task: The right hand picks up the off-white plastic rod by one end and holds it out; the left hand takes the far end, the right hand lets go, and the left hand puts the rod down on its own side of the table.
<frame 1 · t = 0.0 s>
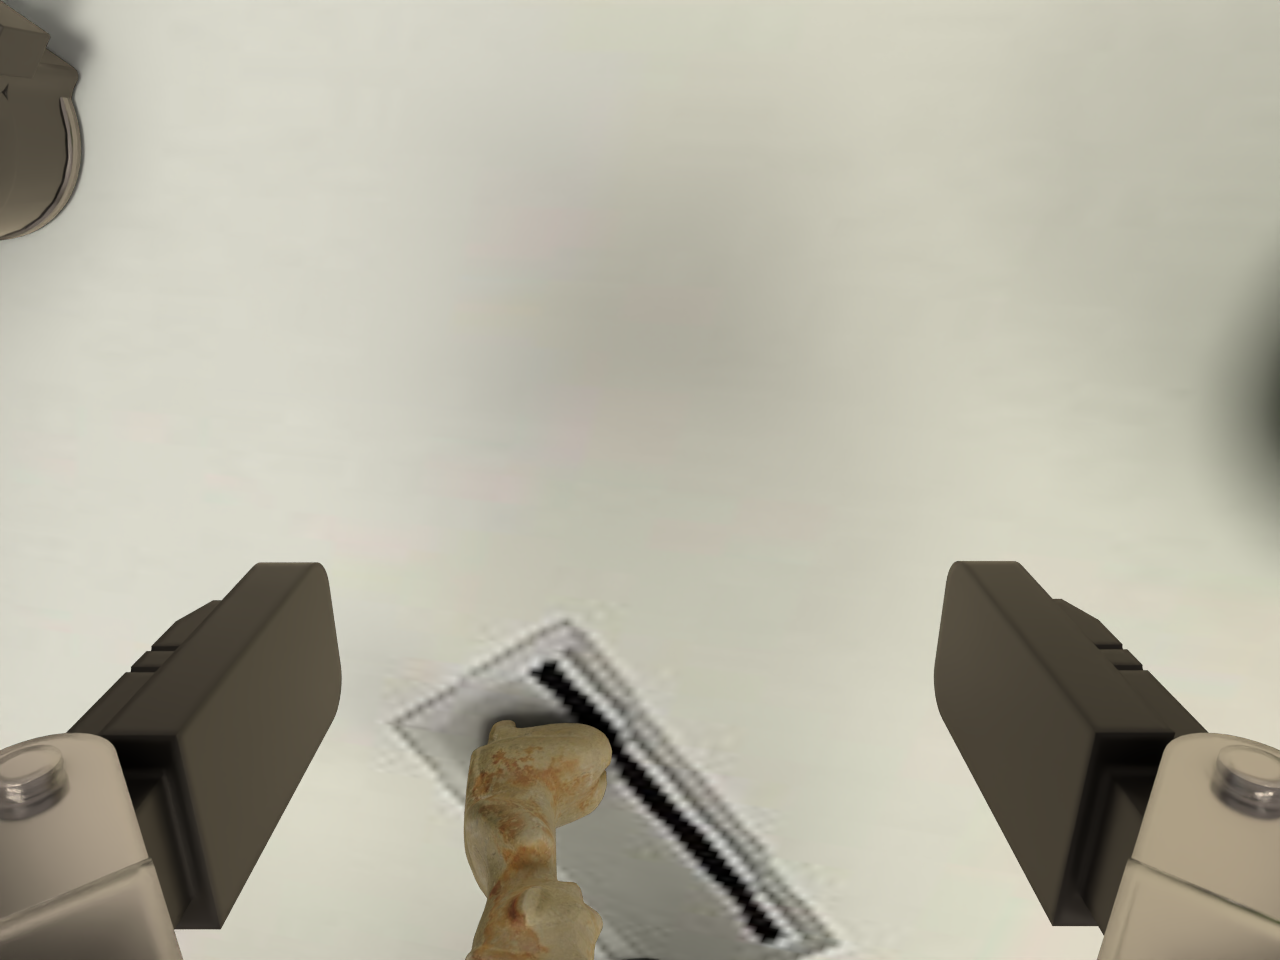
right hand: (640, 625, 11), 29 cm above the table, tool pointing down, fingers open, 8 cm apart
sculpture: (544, 744, 47), on the table
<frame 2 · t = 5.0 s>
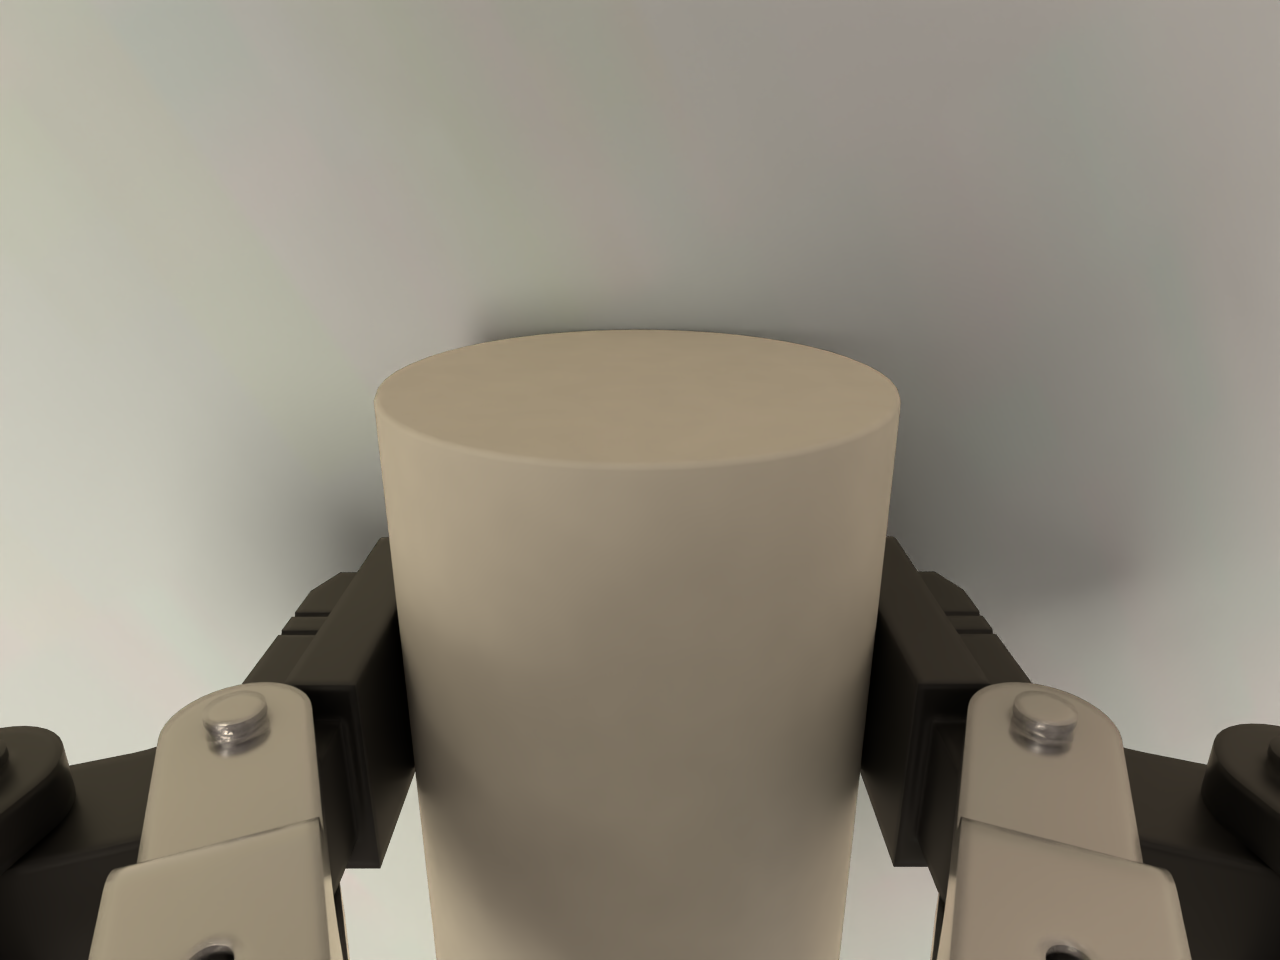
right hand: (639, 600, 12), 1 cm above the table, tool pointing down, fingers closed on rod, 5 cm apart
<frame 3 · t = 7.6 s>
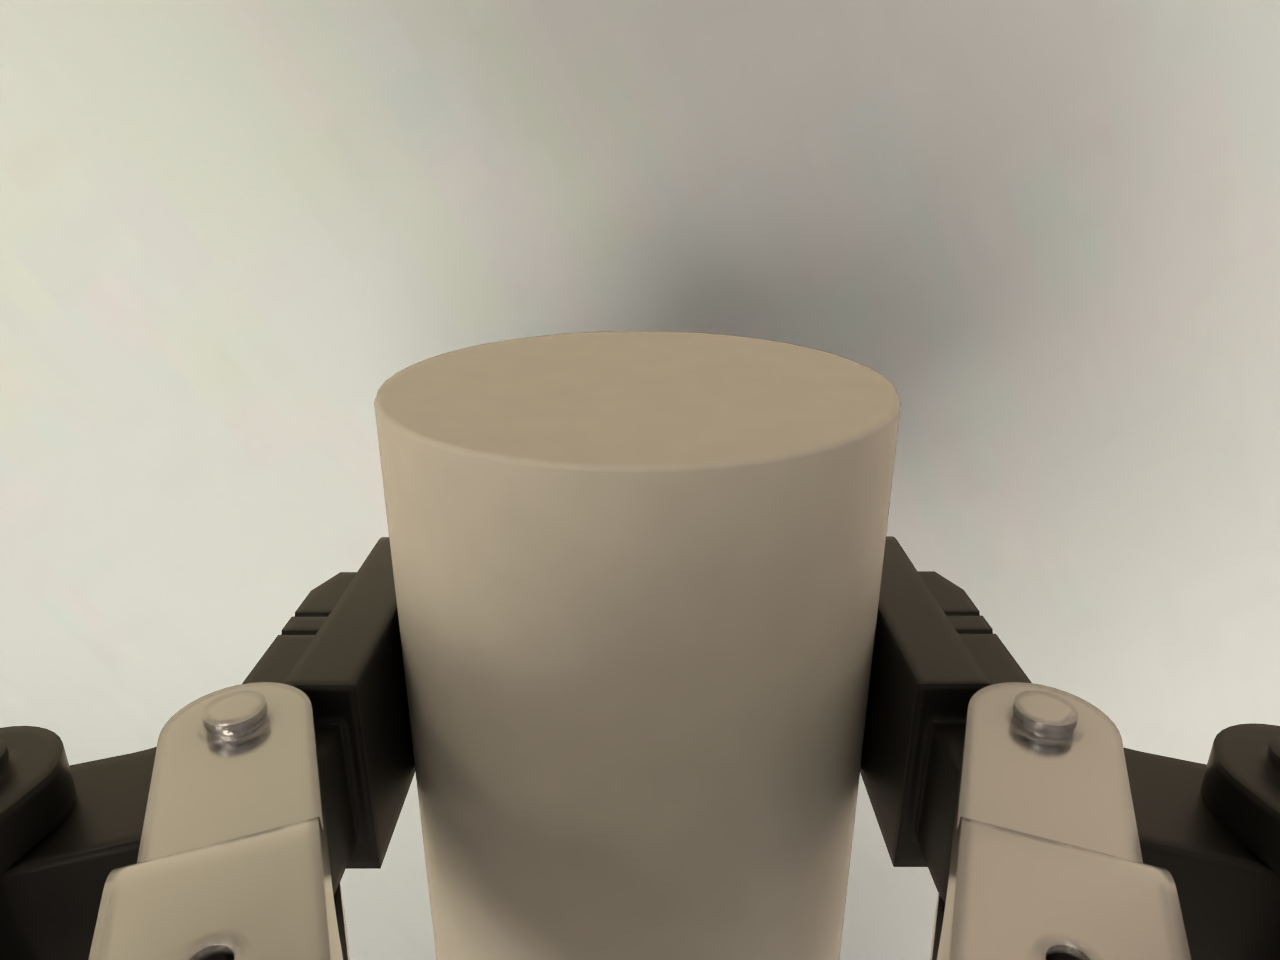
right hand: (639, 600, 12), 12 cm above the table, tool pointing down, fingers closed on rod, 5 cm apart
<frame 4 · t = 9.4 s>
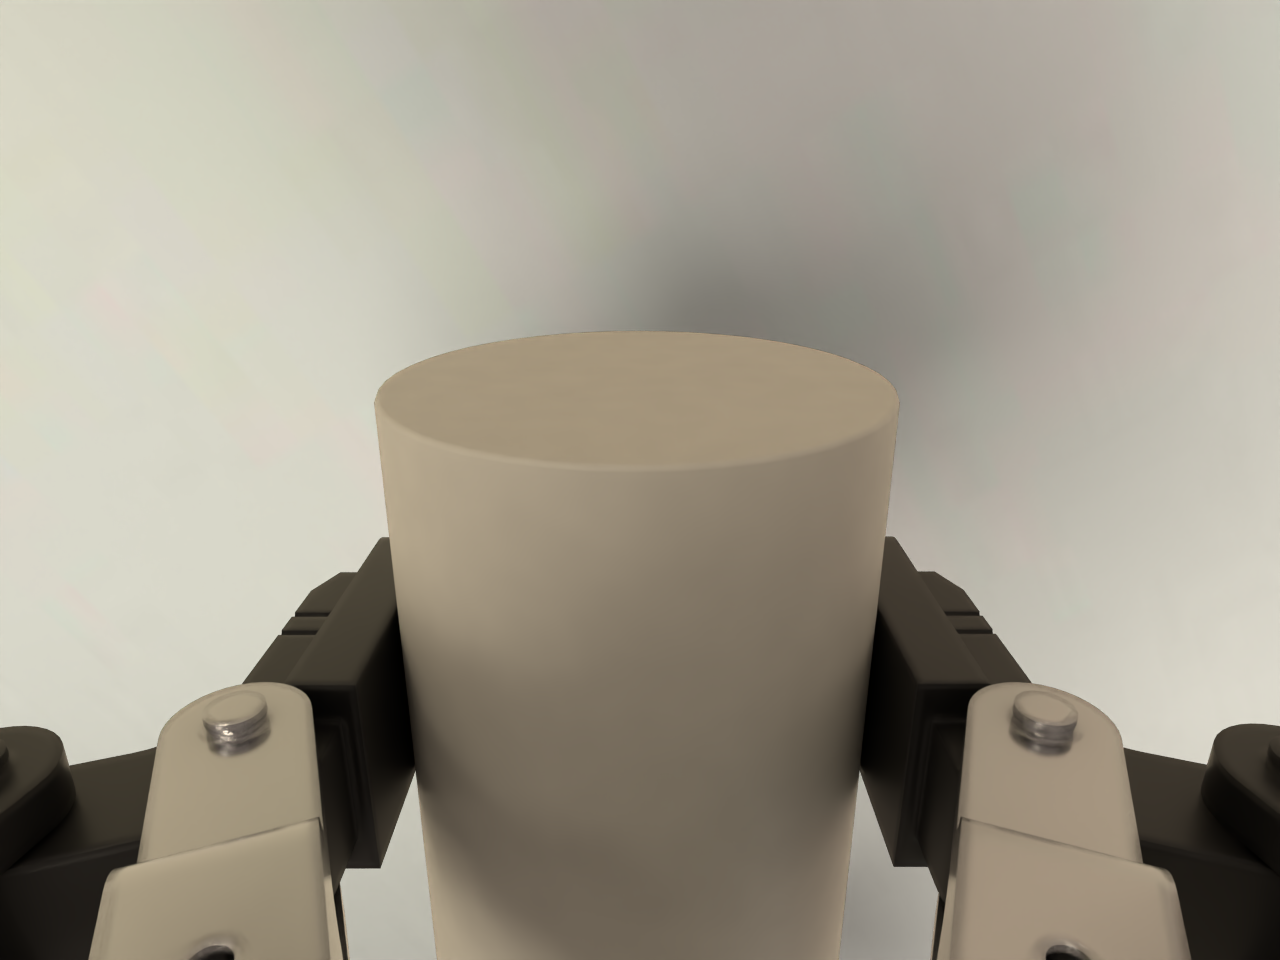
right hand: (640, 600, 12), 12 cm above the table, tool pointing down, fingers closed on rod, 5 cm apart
when the right hand's fingers open (12 cm above the table, at t = 10.5 s): rod stays where it is, held by the left hand.
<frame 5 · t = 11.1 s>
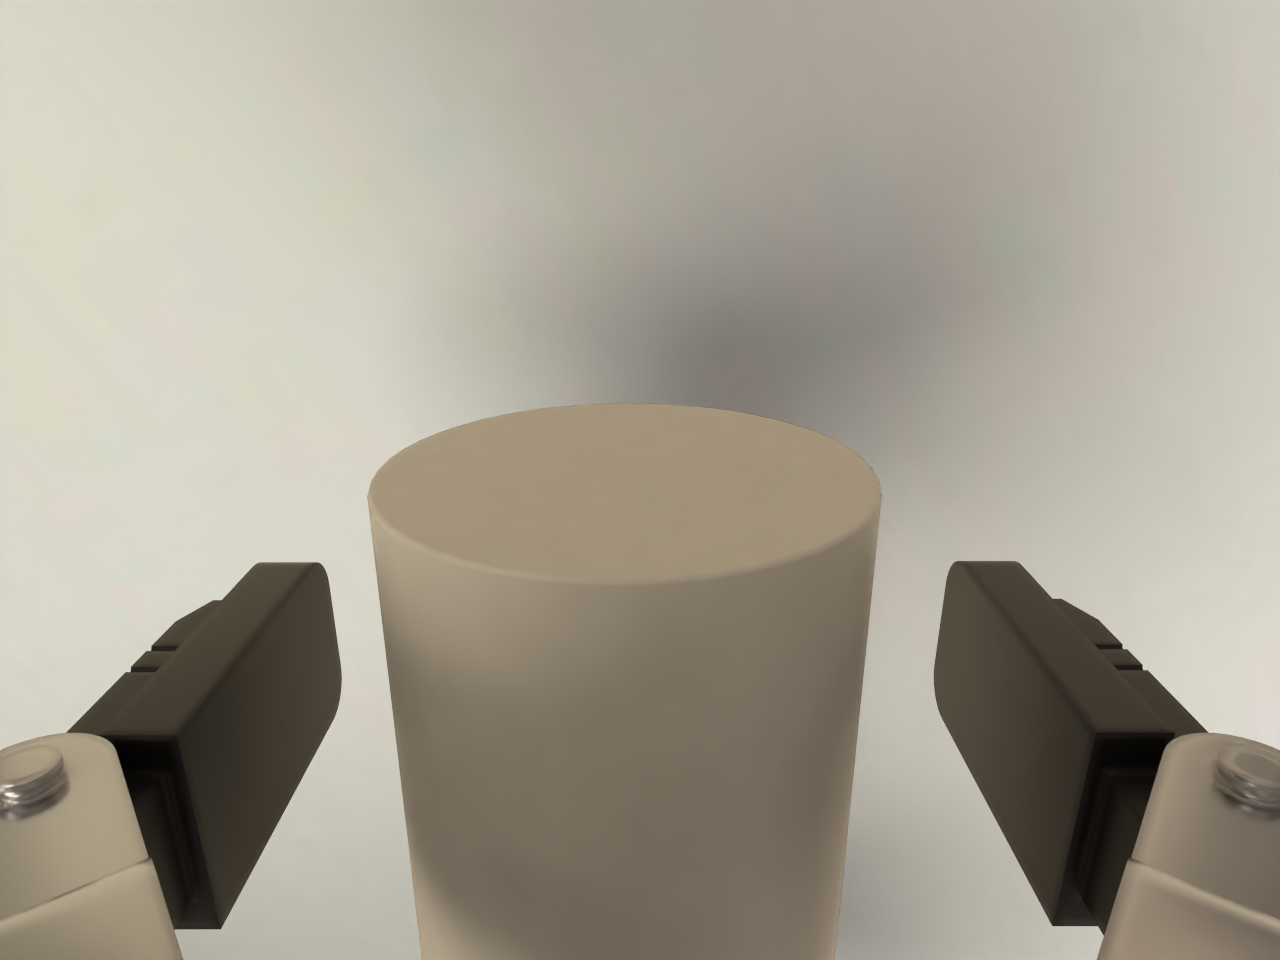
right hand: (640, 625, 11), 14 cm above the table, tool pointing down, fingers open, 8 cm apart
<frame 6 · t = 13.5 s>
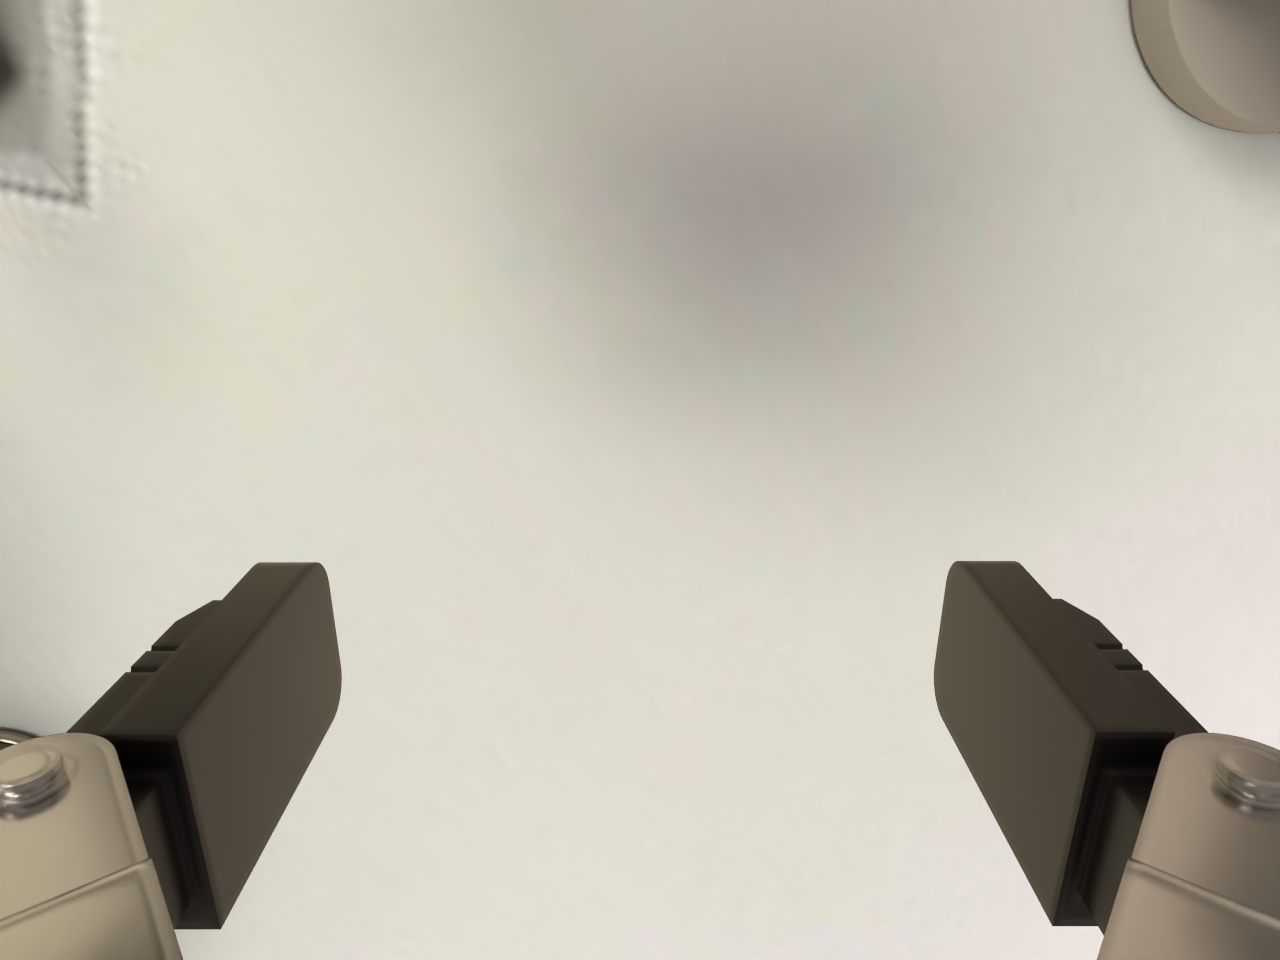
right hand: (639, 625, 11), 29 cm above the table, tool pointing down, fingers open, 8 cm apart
when the left hand's fingers open (2 cm above the table, at t = 17.6 s): rod drops 2 cm, on the table.
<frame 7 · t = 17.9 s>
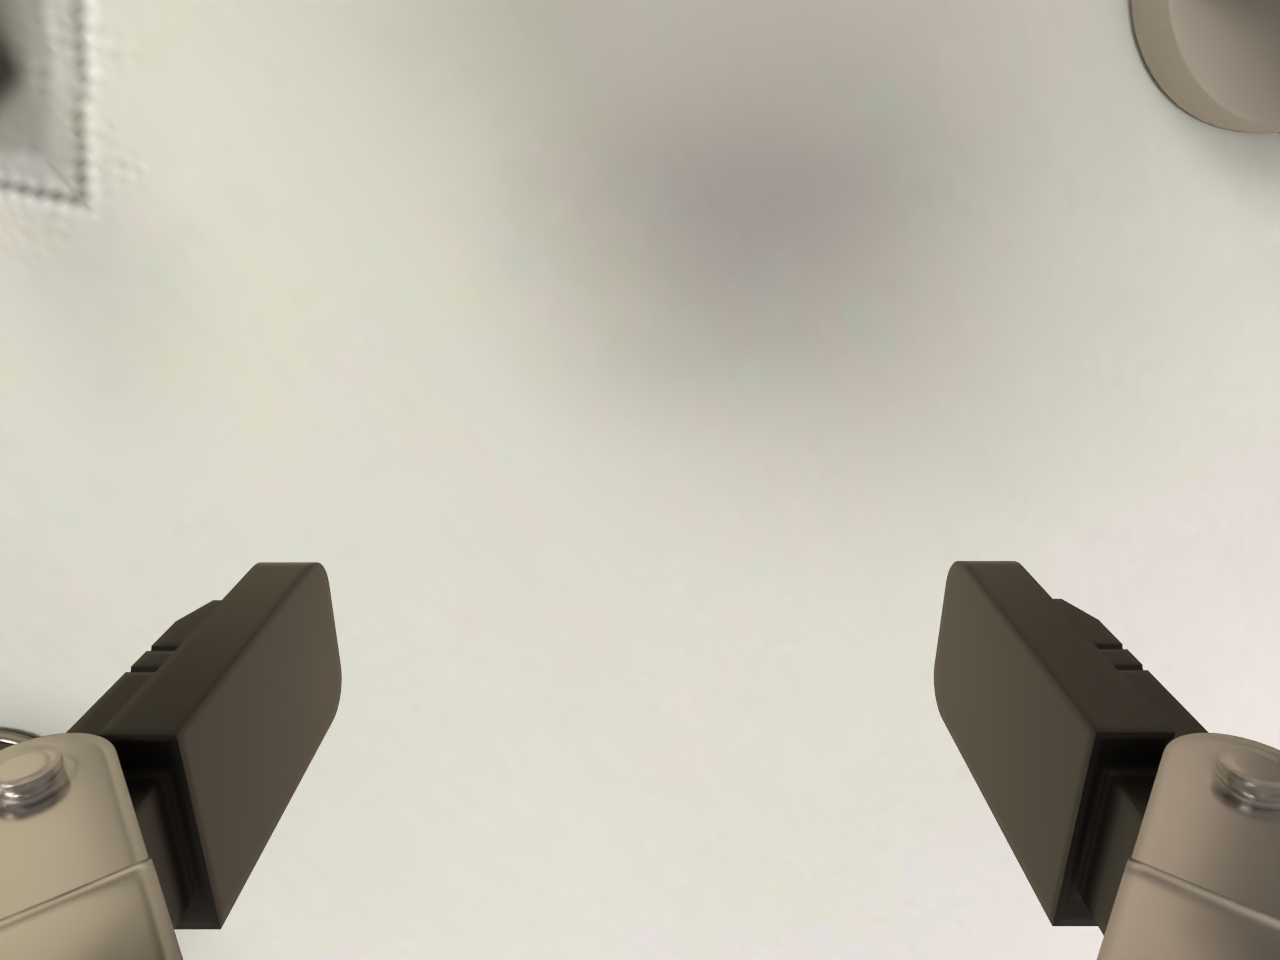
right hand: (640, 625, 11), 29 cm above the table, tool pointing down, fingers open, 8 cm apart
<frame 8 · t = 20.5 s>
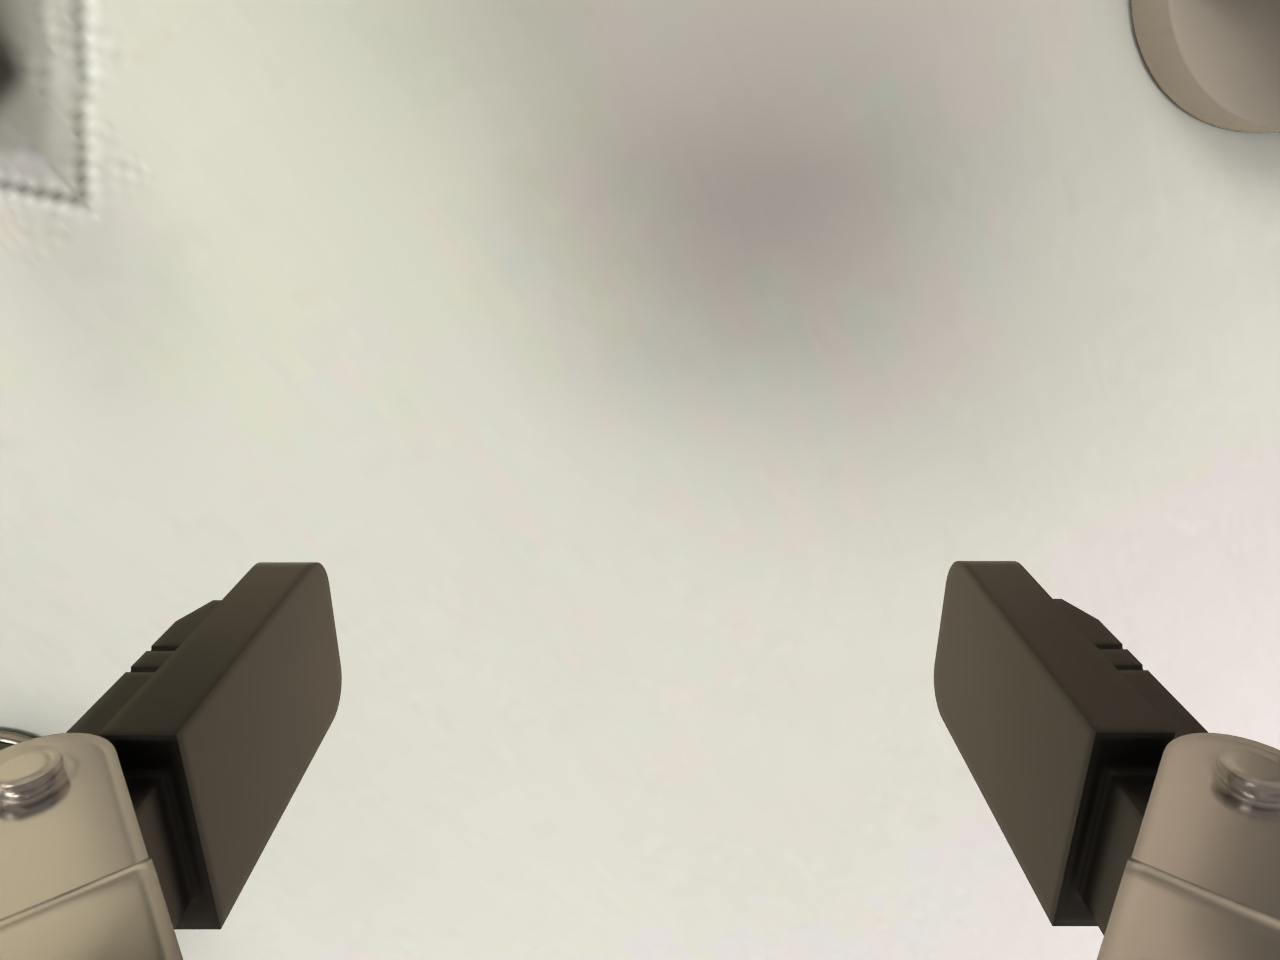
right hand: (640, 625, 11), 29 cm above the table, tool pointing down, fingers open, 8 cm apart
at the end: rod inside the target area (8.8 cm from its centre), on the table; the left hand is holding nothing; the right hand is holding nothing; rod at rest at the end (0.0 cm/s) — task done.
